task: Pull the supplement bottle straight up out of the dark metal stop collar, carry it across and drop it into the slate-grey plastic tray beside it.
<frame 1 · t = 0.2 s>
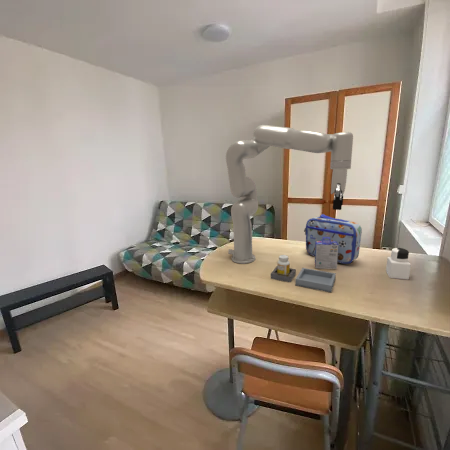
hand: (337, 207, 109), 31 cm above the table, tool pointing down, fingers open, 9 cm apart
lunch box: (329, 258, 135), on the table
stop collar: (283, 276, 117), on the table
supplement bottle: (283, 276, 117), resting in stop collar
medicine bottle: (396, 275, 114), on the table
tray: (315, 282, 111), on the table
ink cartridge box: (325, 267, 125), on the table
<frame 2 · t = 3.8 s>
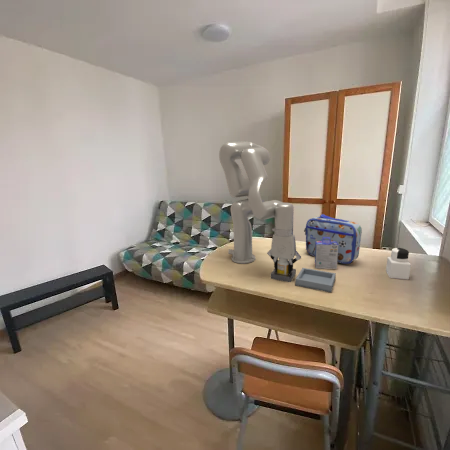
hand: (283, 270, 117), 3 cm above the table, tool pointing down, fingers closed on supplement bottle, 5 cm apart
supplement bottle: (283, 276, 117), resting in stop collar, touching gripper
everything else where it was.
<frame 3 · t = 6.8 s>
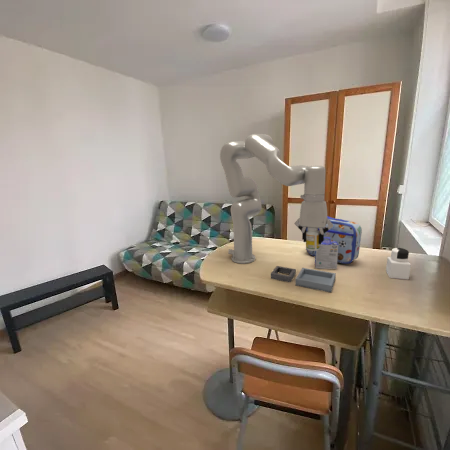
hand: (312, 241, 107), 18 cm above the table, tool pointing down, fingers closed on supplement bottle, 5 cm apart
supplement bottle: (312, 249, 107), point 15 cm above the table, touching gripper
everything else where it was.
when the fingers open (6 cm above the table, at t = 9.9 s): supplement bottle drops 2 cm, resting on tray.
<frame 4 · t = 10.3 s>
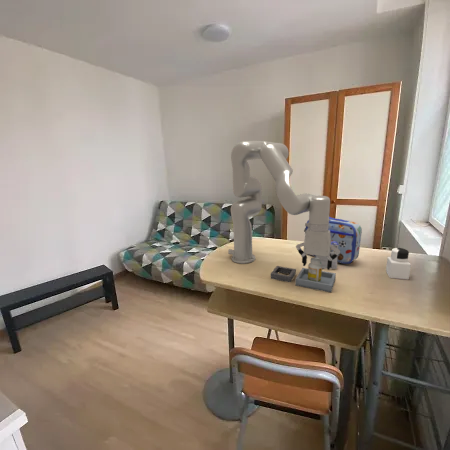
hand: (316, 266, 109), 7 cm above the table, tool pointing down, fingers open, 9 cm apart
supplement bottle: (314, 280, 111), point 1 cm above the table, touching tray
everything else where it was.
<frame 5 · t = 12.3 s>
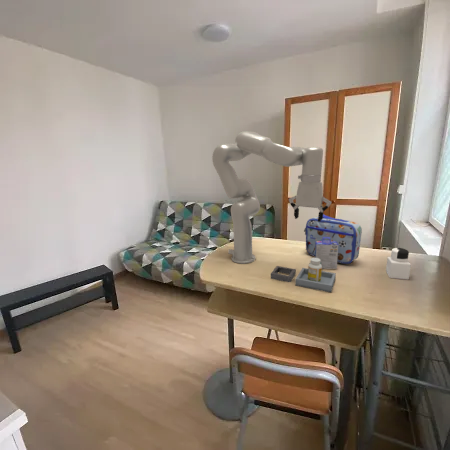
hand: (307, 219, 111), 26 cm above the table, tool pointing down, fingers open, 9 cm apart
nothing on the table moved.
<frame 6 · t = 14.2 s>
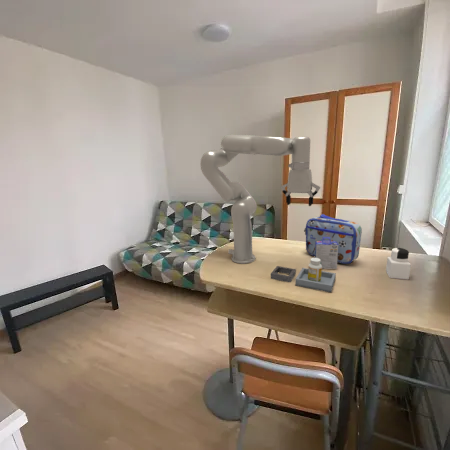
hand: (299, 205, 119), 30 cm above the table, tool pointing down, fingers open, 9 cm apart
nothing on the table moved.
at the end: supplement bottle inside the target area on the tray (0.6 cm from its centre), point 0.6 cm above the tray's base; the gripper is holding nothing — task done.
